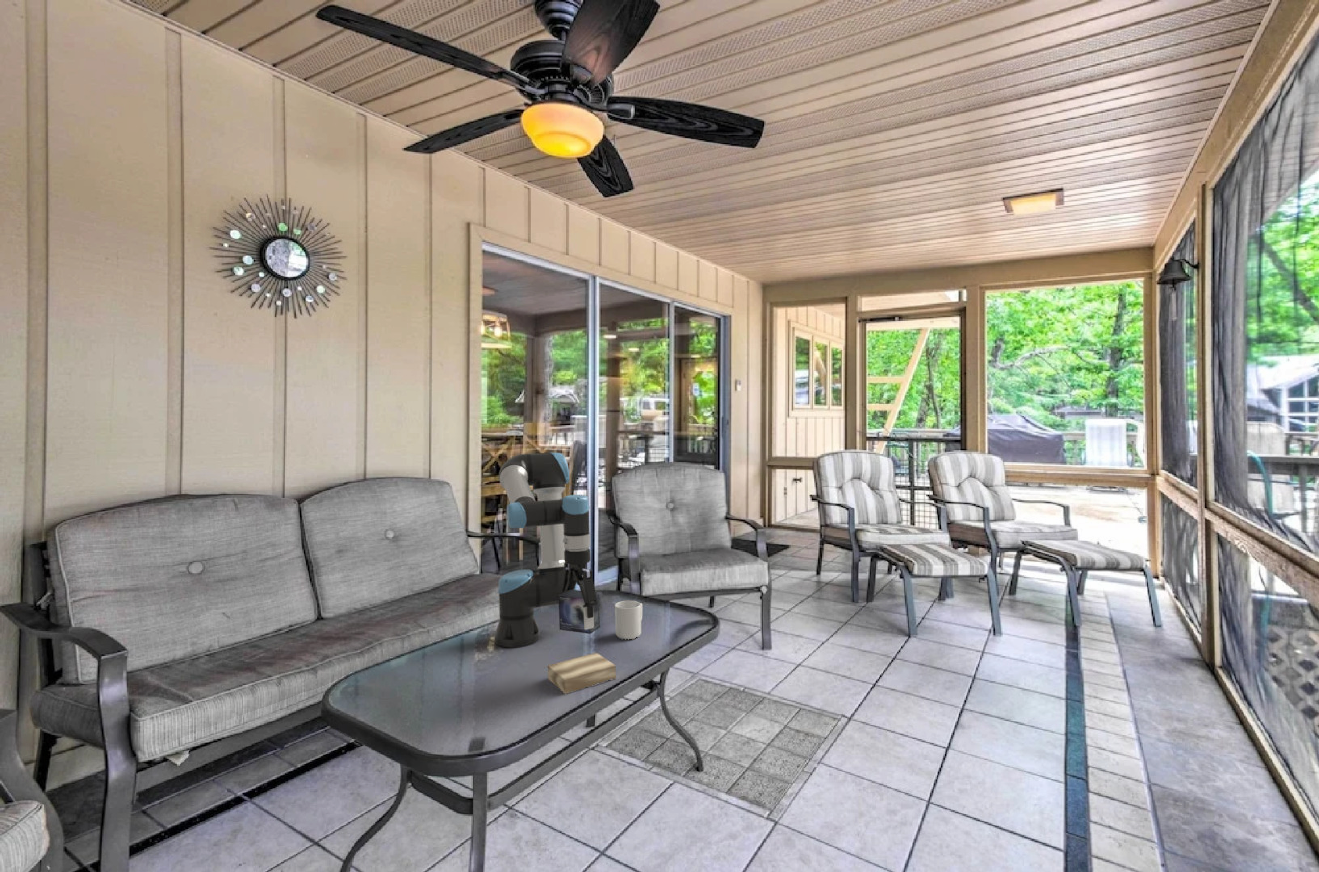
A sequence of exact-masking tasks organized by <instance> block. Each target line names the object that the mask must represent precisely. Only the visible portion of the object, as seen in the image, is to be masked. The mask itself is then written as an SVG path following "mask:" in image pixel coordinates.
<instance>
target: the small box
mask: <svg viewBox="0 0 1319 872" xmlns="http://www.w3.org/2000/svg"><path fill="white" fill-rule="evenodd" d="M595 593H596V598H597V603H598V604H597V605H594V606H593V612H594V628H591V629H587V630H585V629H584V607H583V605H585V603H584V600H583V597H582V593H581V590H580V589H579V590H578V589H576V590H567V591H565V592H563V593H562V594H560V595H558V597H559V605H558V617H559V618H558V619H559V620H558V621H559V624H558V625H559V630H560V631H566V632H572V633H573V632H574V633H580V634H589V635H591V634H593V633H594V632H595V631H597V630H598V629H600V628H601V621H600V619H601V618H600V592H599V591H595Z"/></svg>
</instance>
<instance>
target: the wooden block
mask: <svg viewBox="0 0 1319 872" xmlns="http://www.w3.org/2000/svg"><path fill="white" fill-rule="evenodd" d="M616 667H617V666H616V665H615V664H614V663H613V662H611V661H609V660H608V659H607V658H605V657H603V656H602V655H600V653H598V652H592V653H590V654H586V655H581V656H578V657H575V658H570V659H567V660H563V661H560V662H556V663H553V664H548V665H547V676H548V677H547V678H548V679H547V680H548V681H550V682H551V683H552V685H555V687H557V688H558V689H559V690H560V691H561V692H562V691H563V694H564V695H567V694H566V693H568V694H570V693H569V692H571V693H573V692H572V691H574V692H577V690H578V691H581V690H584V689H586V688H585V687H588V688H591V687H593V686H592V685H594V686H596V685H595V684H597V683H601V684H603V683H602V682H604V681H607V680H610V679H614V680H616V679H617V673H616V672H617V671H616V670H617V669H616ZM615 678H616V679H615ZM604 683H605V682H604ZM590 686H591V687H590ZM583 688H584V689H583ZM580 689H581V690H580Z"/></svg>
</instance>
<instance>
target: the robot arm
mask: <svg viewBox="0 0 1319 872" xmlns="http://www.w3.org/2000/svg"><path fill="white" fill-rule="evenodd" d="M498 480H499V483H500V486H501V487H502V488H503V489H504V490H505V491H506V495H507V499H508V501H509V503H508V504H507V505H506V521H507V526H508V528H510V529H517V528H519V529H524V528H531V527H539V538H540V553H541V557H540V558H541V563H540V564H539V566H538V567H537V573H536V572H535V573H534V571H533V570H531V569H527V568H524V569H518V570H513V571H510V572H506V573H505V574H504V575H503V574H502V575H501V577H500V578H499V579H498V589H497V593H498V612H499V615H498V616H499V619H498V620H499V621H498V622H497V623H498V624H497V628H496V631H495V633H494V634H495V635H494V643H495V644H496V645H497V646H498V645H499V647H501V646H502V647H501V648H521V647H526V646H529V645H532V644H534V643H536V642H537V641H539V640H540V638H541V634H540V633H541V631H540V628H539V626H538V623H537V620H536V618H535V608H536V609H537V608H542V607H551V606H559V597H558V595H560V594H562V593H563V592H565V591H567V590H577V587H579V590H580V591H581V593H582V597H583V600H584V603H585V605H583V607H584V629H585V630H587V629H591V628H594V612H593V606H594V605H597V604H598V603H597V598H596V593H595V592H596V588H595V583H594V578H593V569H588V568H587V564H588V563H590V561H591V549H590V547H591V533H590V505H589V504H590V503H589V497H588V496H587V495H583V494H570V495H565V496H564V497H563V495H562V494H563V492H564V490H566V485H567V484H569V483H570V469H569V465H568V461H567V459H566V457H565V455H564V454H563V453H562V452H539V453H537V452H536V453H535V452H534V453H521V454H516V455H514V456H512V457H509V459H508V460H507V461H505V462H504V463H503V465H501V468H500V470H499V472H498ZM530 487H532V489H531V488H530ZM533 493H534V494H535V495H537V500H536V499H535V497H534V494H533Z"/></svg>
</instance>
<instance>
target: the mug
mask: <svg viewBox="0 0 1319 872" xmlns="http://www.w3.org/2000/svg"><path fill="white" fill-rule="evenodd" d="M614 614H615V615H614V618H615V619H614V620H615V636H616V637H618V639H620V638H621V639H620V640H623V639H625V640H624V641H629V639H632V640H636V639H637V638H636V637H638V638H639V637H640V635H642V620H643V603H641V602H639V601H637V600H623V601H619V602H616V603H615V604H614ZM635 638H636V639H635ZM626 639H628V640H626Z"/></svg>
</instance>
